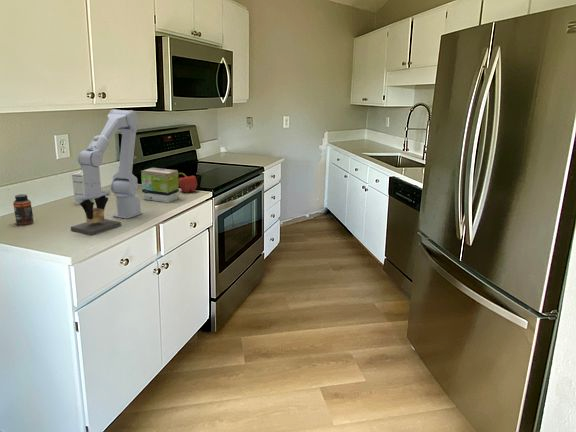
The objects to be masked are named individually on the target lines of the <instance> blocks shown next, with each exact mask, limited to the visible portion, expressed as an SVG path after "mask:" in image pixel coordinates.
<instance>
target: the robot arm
mask: <svg viewBox="0 0 576 432" xmlns="http://www.w3.org/2000/svg"><path fill="white" fill-rule="evenodd" d="M138 122H139V117H138V115H137V113H136V112H135V111H134V110H132V109H130V110H126V109H125V110H124V109H122V110H121V109H114V108H113V109H110V111H109V113H108V114H107V121H106V123H105V126H104V127H103V128H102V130H101V132H100V135H98V134H97V135H95V136H93V137H92V140H91V141H90V143H89V145H88V146H87V147H86V149H85V150H81V152H79V153H78V157H77V162H78V164H79V166H80V169H81V171H82V172H83V179H84V188H85V193H84V194H83V195H81V196H79V197H74V201H75V200H76V203H79V204H80V206H81V207H82V209H83V210H84V212H85V216H86V215H87V218H88V219H93V208H94V205H95V206H96V208H100V209H104V210H105V208H106V205H107V203H108V201H109V197H110V196H111V192H112V193H113V196H115V201H116V213H114V214H113V215H112V217H117V218H120V219H121V218H122V219H130V218H133V217H137V216H140V215H142V214H143V212H142V211H141V210H142V209H141V199H140V196H139V195H138V194H137V192H138V190H139V184H138V178H137V176H135V175H134V174H133V167H134V153H135V145H136V135H137V132H138V124H139V123H138ZM116 131H118V132H120V133H121V142H120V154H119V163H118V164H119V165H118V172H116V173H114V174H113V176H112V180H111V182H110V190H108V189H106V190H102V184H101V173H100V166H101V165H102V164H103V157H104V154H105V151H106V150H107V149H108V147H109V145H110V143H109V140H110V139H111V138H112V136H113V135H114V134H115V132H116ZM107 196H109V197H107ZM92 199H93V201H94V202H95V203H94V202H91V201H90V200H92ZM79 204H78V205H79Z"/></svg>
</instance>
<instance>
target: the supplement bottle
mask: <svg viewBox="0 0 576 432" xmlns="http://www.w3.org/2000/svg"><path fill="white" fill-rule="evenodd" d="M14 197H15V198H14V199H15V200H14V201H13V203H12V205H13V210H14V212H13V213H14V217H15V222H16V224H17V225H19V226H25V225H31V224H32V223H34V214H33V207H32V201H31V199H30V200H29V199H28V194H26V193H25V194H24V193H23V194H22V193H21V194H17V195H14Z"/></svg>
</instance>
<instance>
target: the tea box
mask: <svg viewBox="0 0 576 432" xmlns="http://www.w3.org/2000/svg"><path fill="white" fill-rule="evenodd" d="M178 173H179V170H177V169H167V168H159V167H150V168H147V169H144V170H140V175H141V176H140V177H141V178H140V179H141V193H142V194H141V195H142V200H147V201H148V200H149V201H154V202H162V203H167V204H169V203H171V202H173V201H177V200H178V199H180V196H179V195H180V194H179V193H180V192H179V191H180V190H179V188H180V186H179V183H178V179H179V175H178Z"/></svg>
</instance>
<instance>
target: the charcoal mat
mask: <svg viewBox="0 0 576 432" xmlns="http://www.w3.org/2000/svg"><path fill="white" fill-rule="evenodd" d="M121 226H122V223H121V221H117V220H113V219H108V218H104V221H100V222H97V223H92V222H87V221H86V222H83V223H79V224H75V225H73V226H70V231H71V232H76V233H80V234H83V235H84V234H85V235H87V236H88V235H89V236H95V235H97V234H100V233H103V232H106V231H110V230H112V229H116V228H118V227H121Z"/></svg>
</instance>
